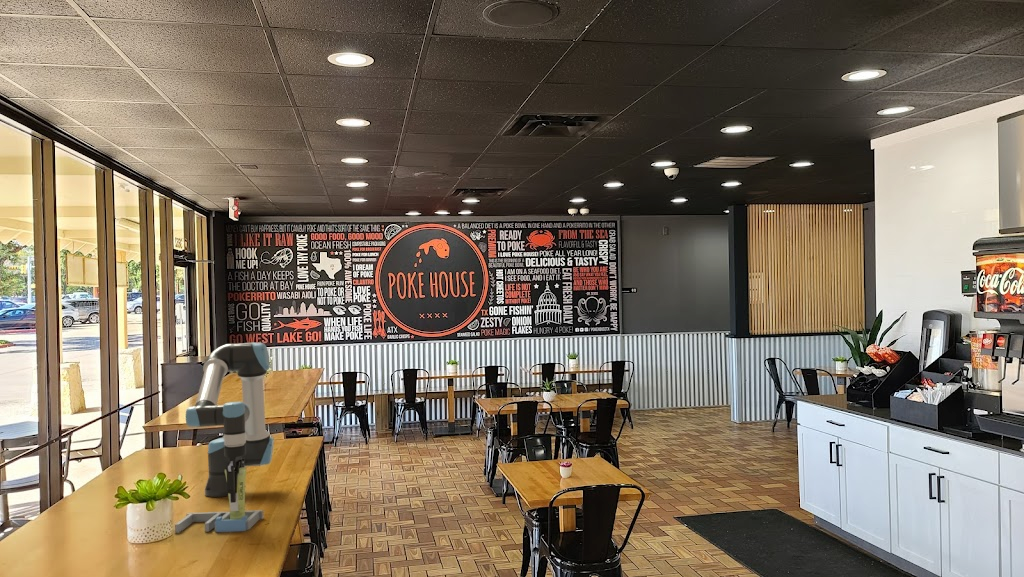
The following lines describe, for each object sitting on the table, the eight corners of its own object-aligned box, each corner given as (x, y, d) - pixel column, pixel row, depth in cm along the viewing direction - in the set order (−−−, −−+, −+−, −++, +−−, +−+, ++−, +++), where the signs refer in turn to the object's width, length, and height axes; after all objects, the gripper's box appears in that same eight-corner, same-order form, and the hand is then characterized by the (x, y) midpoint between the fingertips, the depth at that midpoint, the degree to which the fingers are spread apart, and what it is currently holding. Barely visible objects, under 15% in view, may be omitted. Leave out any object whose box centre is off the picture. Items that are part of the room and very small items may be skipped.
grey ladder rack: (188, 521, 280) (187, 508, 280) (263, 518, 281) (262, 505, 281) (170, 533, 265) (170, 520, 265) (250, 530, 266) (250, 517, 266)
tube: (235, 524, 268) (234, 470, 269) (226, 523, 271) (224, 469, 271) (248, 520, 273) (246, 467, 274) (238, 518, 276) (237, 465, 276)
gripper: (232, 440, 281) (234, 502, 281) (215, 450, 264) (217, 516, 263) (253, 439, 281) (254, 501, 281) (237, 449, 264) (239, 515, 264)
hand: (236, 508), depth 272 cm, fingers closed on tube, 5 cm apart
